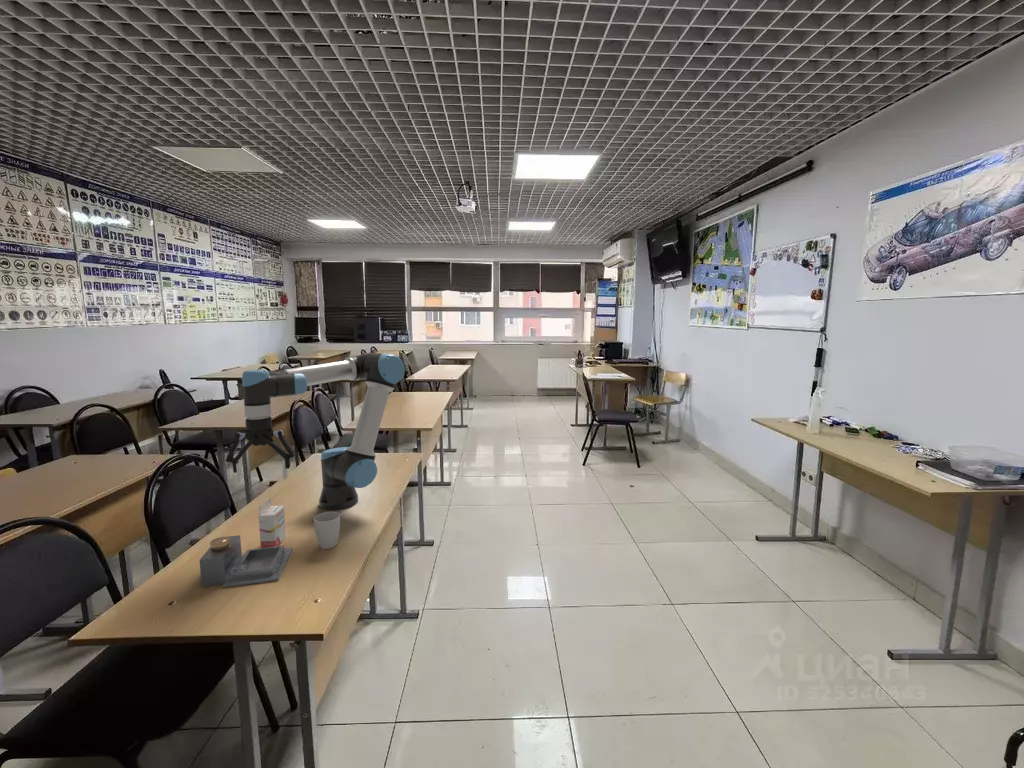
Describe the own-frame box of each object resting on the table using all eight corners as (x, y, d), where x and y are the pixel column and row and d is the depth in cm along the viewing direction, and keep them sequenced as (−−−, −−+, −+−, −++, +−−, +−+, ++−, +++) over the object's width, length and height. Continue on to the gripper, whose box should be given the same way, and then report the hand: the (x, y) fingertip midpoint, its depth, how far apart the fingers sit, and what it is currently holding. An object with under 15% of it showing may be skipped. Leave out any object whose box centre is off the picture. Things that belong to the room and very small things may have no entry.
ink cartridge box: (276, 549, 147) (273, 506, 145) (260, 550, 146) (257, 507, 144) (286, 537, 155) (284, 496, 153) (272, 538, 155) (269, 497, 153)
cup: (346, 541, 152) (345, 513, 151) (329, 552, 144) (328, 523, 143) (327, 537, 155) (325, 510, 153) (309, 548, 147) (308, 519, 146)
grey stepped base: (292, 550, 146) (290, 521, 144) (278, 580, 128) (275, 547, 127) (222, 558, 141) (220, 528, 139) (198, 590, 123) (195, 556, 122)
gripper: (302, 413, 153) (305, 473, 155) (219, 417, 146) (224, 479, 149) (297, 417, 146) (301, 480, 148) (210, 421, 139) (216, 487, 142)
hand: (263, 479), depth 149 cm, fingers open, 13 cm apart
